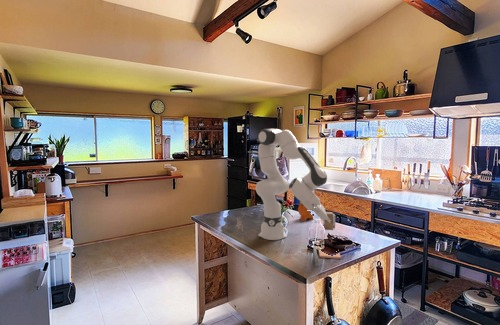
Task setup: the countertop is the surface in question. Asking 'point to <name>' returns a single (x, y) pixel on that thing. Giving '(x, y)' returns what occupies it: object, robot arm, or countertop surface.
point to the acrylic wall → (315, 256)
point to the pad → (324, 255)
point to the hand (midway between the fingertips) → (329, 220)
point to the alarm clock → (304, 212)
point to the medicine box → (333, 220)
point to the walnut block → (326, 224)
